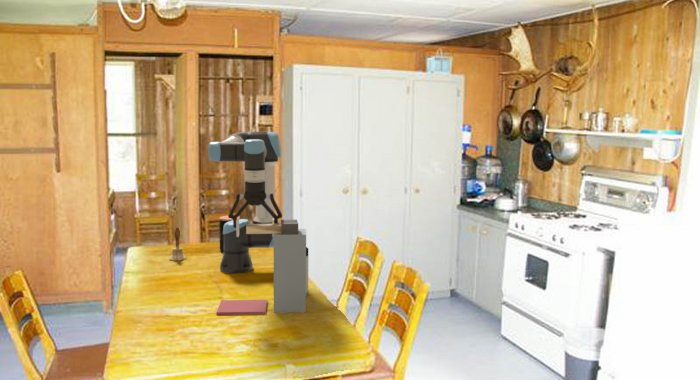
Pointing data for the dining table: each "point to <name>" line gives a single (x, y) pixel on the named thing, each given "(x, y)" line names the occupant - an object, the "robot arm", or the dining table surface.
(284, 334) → the dining table surface
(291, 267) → the pedestal
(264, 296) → the dining table surface
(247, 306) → the mat
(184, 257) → the hand bell
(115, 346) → the dining table surface
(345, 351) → the dining table surface
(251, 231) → the stamp
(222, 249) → the coffee jar
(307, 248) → the travel mug
